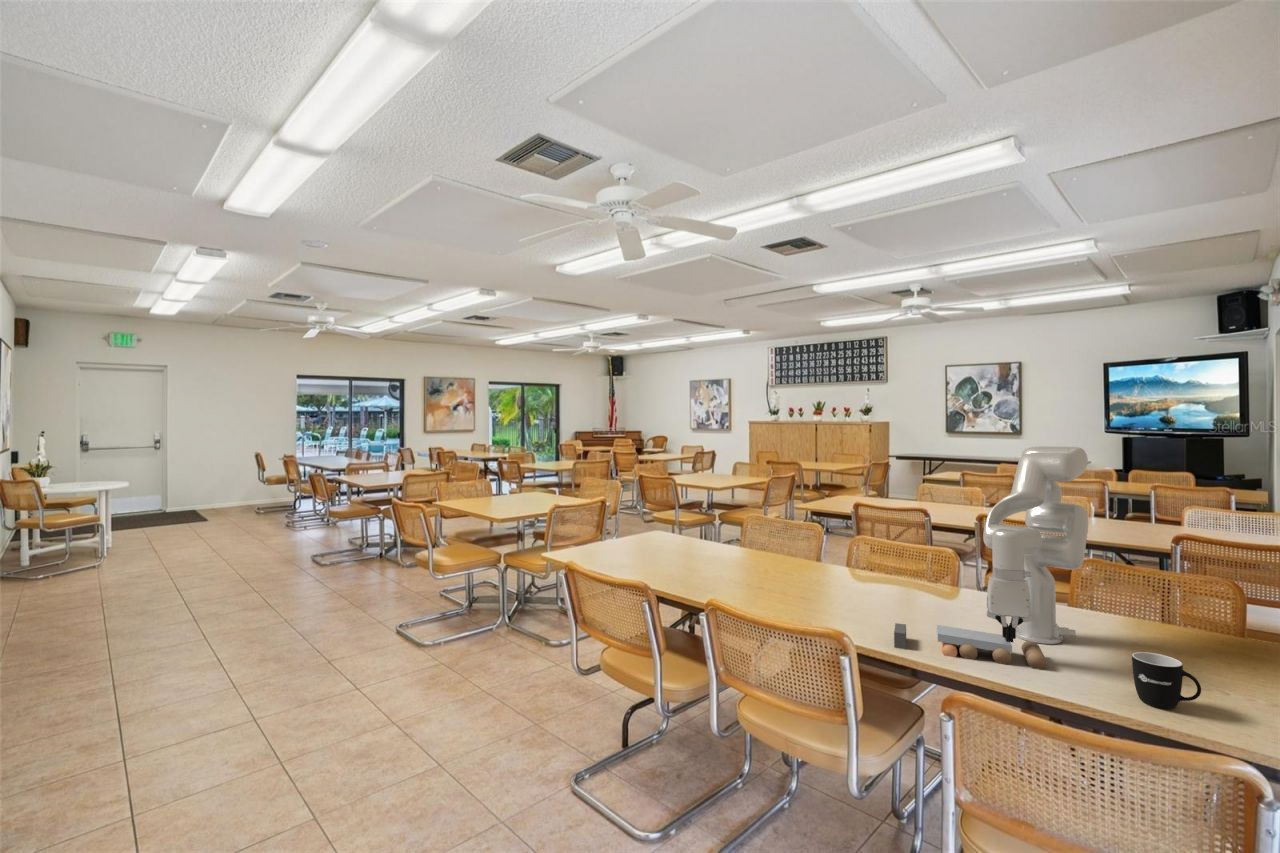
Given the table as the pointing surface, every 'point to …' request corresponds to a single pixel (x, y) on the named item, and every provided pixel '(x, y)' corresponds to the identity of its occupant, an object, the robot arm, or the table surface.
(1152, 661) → the mug
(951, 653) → the roller
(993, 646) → the slab
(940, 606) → the table surface
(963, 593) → the table surface
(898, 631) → the block
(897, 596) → the table surface
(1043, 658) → the roller
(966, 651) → the roller
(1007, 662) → the roller mid
